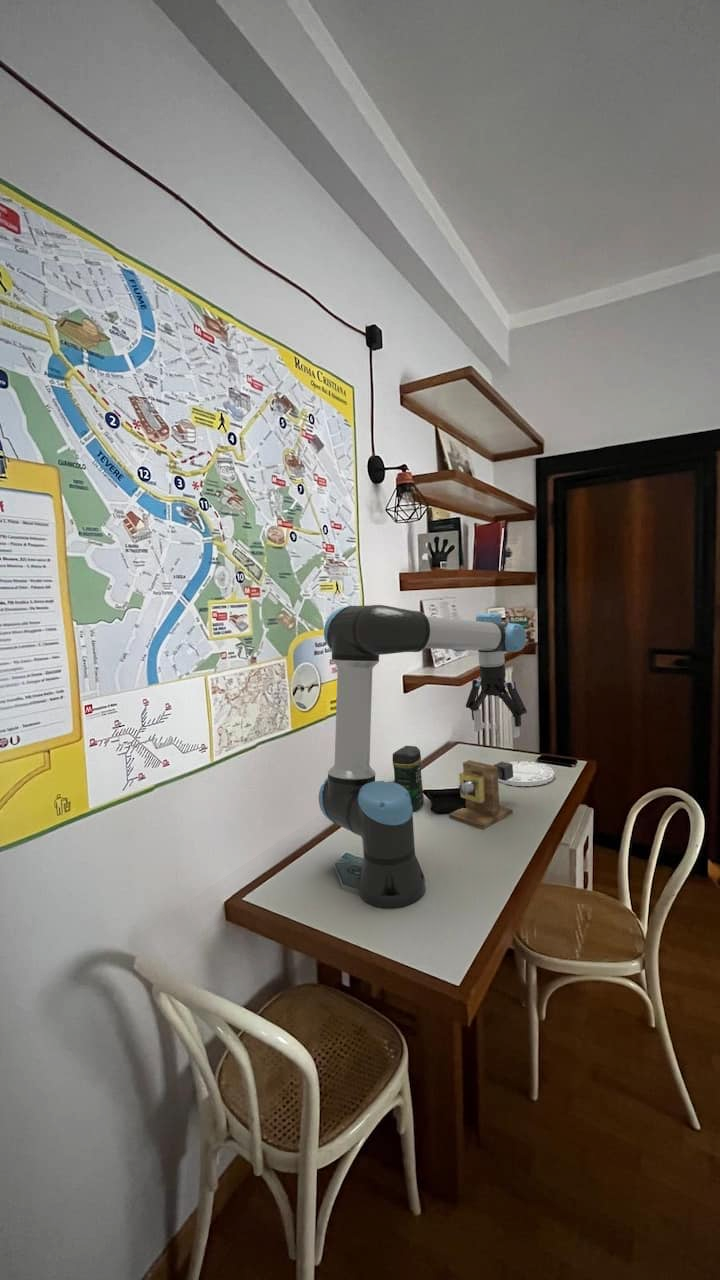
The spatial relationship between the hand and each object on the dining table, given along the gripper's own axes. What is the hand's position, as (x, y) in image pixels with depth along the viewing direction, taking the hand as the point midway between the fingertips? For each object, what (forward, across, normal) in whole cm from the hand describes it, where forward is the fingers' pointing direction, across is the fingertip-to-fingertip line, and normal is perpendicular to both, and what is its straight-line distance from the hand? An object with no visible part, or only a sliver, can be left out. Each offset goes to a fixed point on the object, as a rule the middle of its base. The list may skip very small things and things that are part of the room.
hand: (496, 733), depth 164 cm
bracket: (+21, -1, +11) cm, 24 cm away
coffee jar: (+22, +20, +20) cm, 35 cm away
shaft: (+13, -1, +8) cm, 16 cm away
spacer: (+12, -1, +15) cm, 19 cm away
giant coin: (+22, +6, -22) cm, 32 cm away
